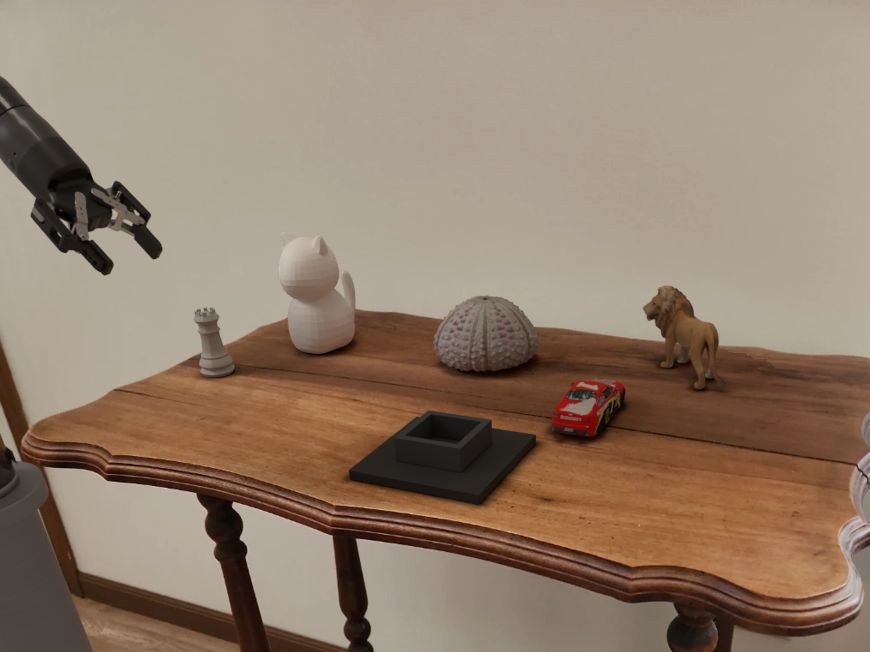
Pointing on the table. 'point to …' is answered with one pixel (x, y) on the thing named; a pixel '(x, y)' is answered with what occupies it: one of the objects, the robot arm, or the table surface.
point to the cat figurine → (316, 295)
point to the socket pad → (445, 457)
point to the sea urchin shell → (485, 335)
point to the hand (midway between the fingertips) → (135, 262)
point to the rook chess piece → (212, 345)
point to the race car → (588, 407)
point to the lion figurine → (684, 332)
